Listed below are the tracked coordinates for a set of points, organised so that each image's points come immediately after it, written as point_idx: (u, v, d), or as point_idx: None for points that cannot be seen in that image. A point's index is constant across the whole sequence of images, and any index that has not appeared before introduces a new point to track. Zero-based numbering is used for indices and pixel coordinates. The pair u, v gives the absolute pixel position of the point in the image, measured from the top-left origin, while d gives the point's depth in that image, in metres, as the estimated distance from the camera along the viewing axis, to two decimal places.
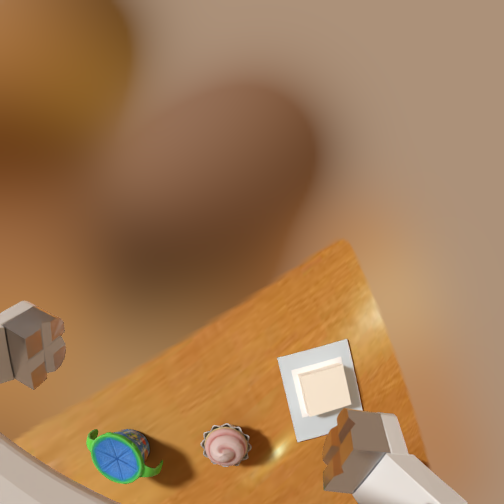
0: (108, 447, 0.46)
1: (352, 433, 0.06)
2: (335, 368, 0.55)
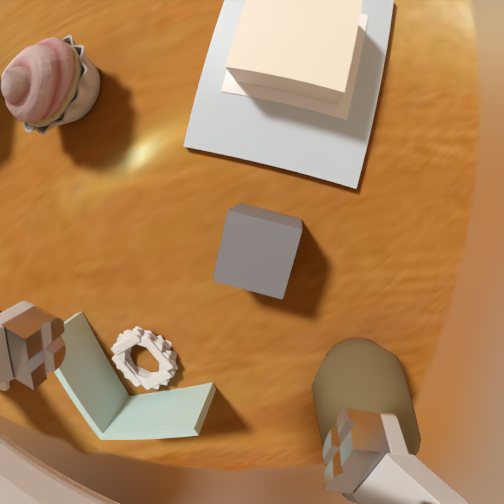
0: None
1: (352, 434, 0.06)
2: None
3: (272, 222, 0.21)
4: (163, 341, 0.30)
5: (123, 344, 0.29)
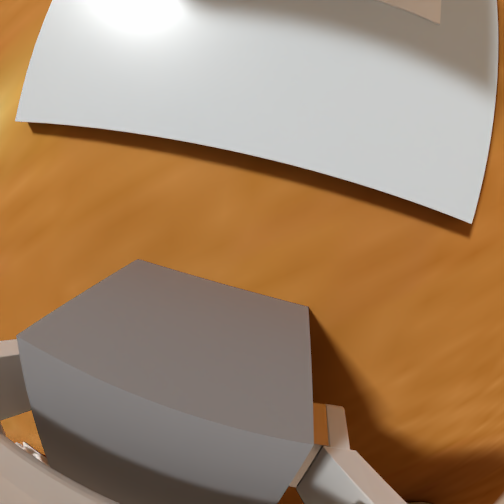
0: None
1: None
2: None
3: (175, 410, 0.04)
4: None
5: None
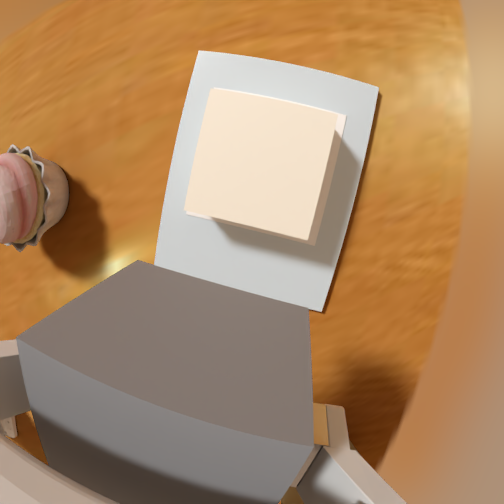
0: None
1: None
2: (313, 112, 0.18)
3: (175, 412, 0.04)
4: None
5: None
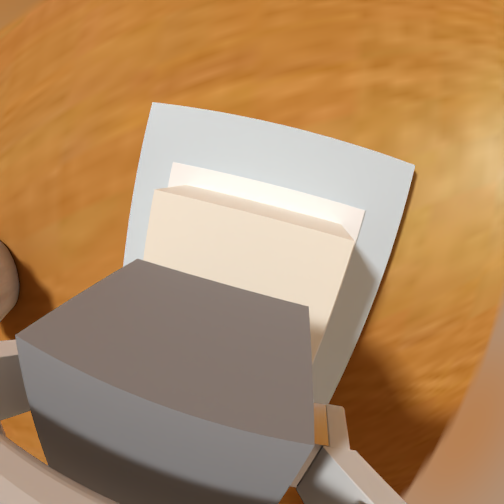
0: None
1: None
2: (315, 238, 0.12)
3: (175, 410, 0.04)
4: None
5: None
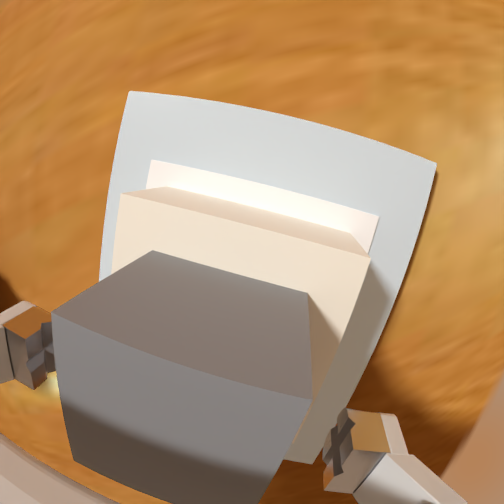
0: None
1: (351, 433, 0.06)
2: (321, 254, 0.09)
3: (195, 370, 0.05)
4: None
5: None
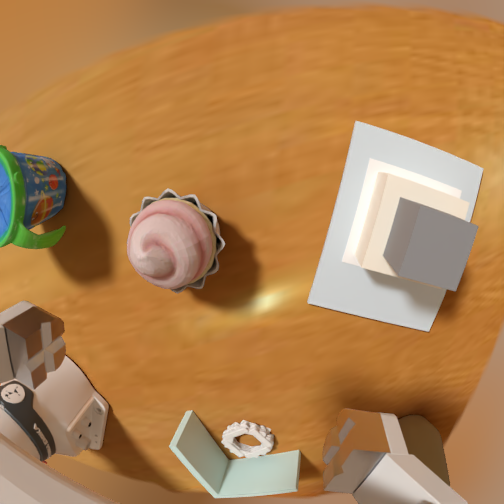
0: None
1: (352, 434, 0.06)
2: (455, 200, 0.23)
3: (456, 218, 0.19)
4: (265, 429, 0.38)
5: (233, 434, 0.37)
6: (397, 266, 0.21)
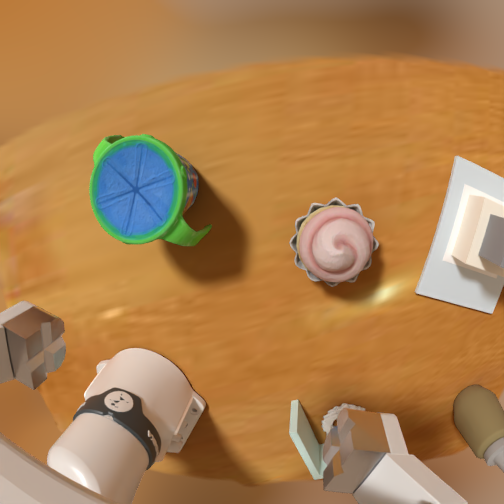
0: (130, 163, 0.29)
1: (351, 434, 0.06)
2: None
3: None
4: (361, 409, 0.42)
5: (335, 416, 0.42)
6: (497, 261, 0.27)
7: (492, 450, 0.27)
